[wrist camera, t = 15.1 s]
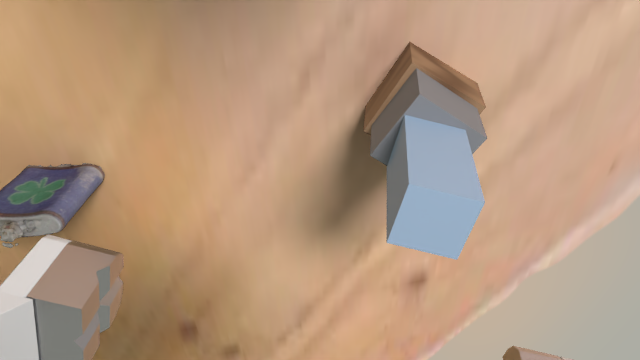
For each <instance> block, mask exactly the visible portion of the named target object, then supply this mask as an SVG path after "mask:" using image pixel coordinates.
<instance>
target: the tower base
mask: <svg viewBox="0 0 640 360" xmlns="http://www.w3.org/2000/svg"><path fill="white" fill-rule="evenodd" d="M416 68H417V69H419V70H420V71H422V72H423V73H425V74H426V75H428V76H429V77H431V78H432V79H434V80H435V81H437V82H438V83H440V84H441V85H443V86H444V87H446V88H447V89H449V90H450V91H452V92H453V93H455V94H456V95H458V96H459V97H461V98H462V99H464V100H465V101H467V102H468V103H470V104H471V105H473V106H474V107H476V108H477V109H478V112H479V115H480V114H481V112H482V111H483V110H484V109H485V108H486V106H485V103H484V101H483V98H482V95H481V92H480V90H479V87H478V84H477V83H476V82H474V81H473V80H471V79H470V78H468V77H466V76H465V75H463V74H461V73H460V72H458V71H456V70H455V69H453V68H452V67H450V66H448V65H447V64H445V63H443V62H442V61H440V60H439V59H437V58H435V57H434V56H432V55H430V54H429V53H427V52H426V51H424V50H422V49H421V48H419V47H417V46H416V45H414V44H413V43H411V42H409V44H408V45H407V47H406V48H405V50H404V51H403V53H402V54H401V55H400V57H399V58H398V60H397V61H396V63H395V64H394V66H393V67H392V69H391V70H390V71H389V73H388V74H387V76H386V77H385V79H384V80H383V82H382V83H381V84H380V86H379V87H378V89H377V90H376V92H375V93H374V95H373V96H372V98H371V99H370V100H369V102H368V103H367V105H366V106H365V119H364V132H366V133H368V134H370V135H371V126H372V124H373V123H374V121H375V120H376V119H377V118H378V116H379V115H380V114H381V113H382V111H383V110H384V109H385V107H386V106H387V105H388V104H389V102H390V101H391V100H392V98H393V97H394V96H395V95H396V93H397V92H398V91H399V89H400V88H401V87H402V86H403V84H404V83H405V82H406V81H407V79H408V78H409V77H410V75H411V74H412V73H413V72H414V70H415V69H416Z"/></svg>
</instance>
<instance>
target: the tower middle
mask: <svg viewBox="0 0 640 360" xmlns="http://www.w3.org/2000/svg"><path fill="white" fill-rule="evenodd" d="M404 115H408V116H412V117H416V118H420V119H424V120H428V121H432V122H436V123H440V124H444V125H448V126H452V127H456V128H460V129H464V130H466V133H467V137H468V141H469V144H470V148H471V152H472V154H473V153H474V152H475V151H476V150H477V149H478V147H479V146H480V145H481V144H482V143H483V142H484V141H485V140H486V139H487V136H486V133H485V130H484V127H483V124H482V121H481V118H480V115H479V112H478V109H477V108H476V107H474V106H473V105H471V104H470V103H468V102H467V101H465V100H464V99H462V98H461V97H459V96H458V95H456V94H455V93H453V92H452V91H450V90H449V89H447V88H446V87H444V86H443V85H441V84H440V83H438V82H437V81H435V80H434V79H432V78H431V77H429V76H428V75H426V74H425V73H423V72H422V71H420V70H419V69H417V68H416V69H415V70H414V72H413V73H412V74H411V75H410V77H409V78H408V79H407V81H406V82H405V83H404V84H403V86H402V87H401V88H400V89H399V91H398V92H397V93H396V95H395V96H394V97H393V98H392V100H391V101H390V102H389V104H388V105H387V106H386V107H385V109H384V110H383V111H382V113H381V114H380V115H379V116H378V118H377V119H376V120H375V121H374V123H373V124H372V126H371V146H370V156H372V157H373V158H375V159H377V160H378V161H380V162H382V163H383V164H385V165H386V166H387V165H388V162H389V159H390V156H391V153H392V150H393V147H394V144H395V141H396V139H397V136H398V133H399V130H400V127H401V124H402V121H403V118H404Z"/></svg>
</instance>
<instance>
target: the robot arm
mask: <svg viewBox="0 0 640 360" xmlns="http://www.w3.org/2000/svg"><path fill="white" fill-rule="evenodd" d="M123 267H124V261H123V254H121V253H119V252H115V251H111V250H108V249H104V248H100V247H96V246H92V245H89V244H85V243H81V242H77V241H72V240H68V239H64V238H60V237H56V236H53V235H49V234H48V235H47V236H45V237H43V238H41V239H40V240H39V241H38V242H37V244H36V245H35V246H34V247H33V248H32V249H31V251H30V252H29V253H28V254H27V255H26V256H25V258H24V259H23V260H22V261H21V262H20V263H19V264H18V266H17V267H16V268H15V269H14V270H13V271H12V273H11V274H10V275H9V276H8V277H7V278H6V280H5V281H4V282H3V283H2V284H1V285H0V360H92V358H93V356H94V354H95V353H96V351H97V349H98V347H99V346H100V333H101V332H102V331H104V330H106V329H108V328H110V326H111V324H112V322H113V320H114V318H115V317H116V314H117V311H118V309H119V306H120V303H121V299H122V294H123V282H122V281H121V279H120V278H119V277H118V276H119V274H120V272H121V271H122V269H123ZM503 360H573V359H568V358H564V357H558V356H555V355H551V354H547V353H542V352H538V351H533V350H529V349H525V348H520V347H516V346H512V347H511V348H509V349H508V350H507V351H506V353H505V354H504V356H503Z"/></svg>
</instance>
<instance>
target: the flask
mask: <svg viewBox="0 0 640 360" xmlns="http://www.w3.org/2000/svg"><path fill="white" fill-rule="evenodd" d="M103 174H104V173H103V171H102V169H101V167H100V166H96V165H92V164H86V163H83V164H82V165H71V164H64V165H63V164H61V165H60V166H57V167H52V166H51V165H50V166H48V167H43V166H41V165H40V166H31V165H29V166H27V167H26V168H25V169H24V170H23V171H22V172H21V173H20V174H19V175H18V176H17V177H16V178H15V179H13V180H12V181H11V182H10V183H8V184H7V185H6V186H5V187H3V189H2V190H1V191H0V236H1V239H0V240H2V241H6V242H7V241H9V242H13V241H14V240H15V239H16V238H20V237H29V236H40V235H46V234H53V233H57V232H59V231H62V230H63V228H64V227H65V226H66V224H67V223H68V222H69V221H70V219H71V218H72V217H73V216H74V214H75V213H76V212H77V211H78V210H79V209H80V207H81V206H82V205H83V204H84V202H85V201H86V200H87V199H88V198H89V196H90V195H91V194H92V193H93V192H94V191H95V190H96V188H97V187H98V186H99V185H100V184H101V183H102V181H103V180H104V178H103V177H104V176H103ZM17 245H18V243H16V244H15V246H17ZM3 246H5V247H9V248H11V247H13V245H12V244H11V243H10V244H6V243H3Z"/></svg>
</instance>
